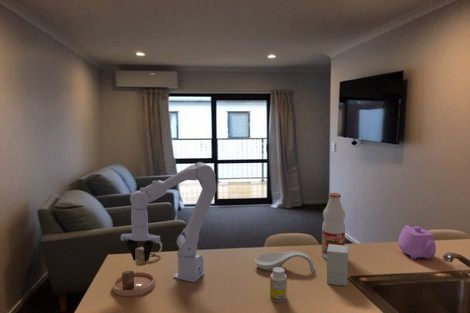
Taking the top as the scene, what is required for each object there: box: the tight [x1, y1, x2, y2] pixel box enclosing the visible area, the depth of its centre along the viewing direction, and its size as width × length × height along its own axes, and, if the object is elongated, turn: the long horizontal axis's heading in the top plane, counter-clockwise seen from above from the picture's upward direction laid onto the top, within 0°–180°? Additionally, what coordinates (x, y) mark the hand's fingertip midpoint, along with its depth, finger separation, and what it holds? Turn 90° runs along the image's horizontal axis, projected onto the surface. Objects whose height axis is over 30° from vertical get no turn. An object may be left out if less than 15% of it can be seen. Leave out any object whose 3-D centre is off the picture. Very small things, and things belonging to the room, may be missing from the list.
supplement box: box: [326, 244, 349, 287], centre depth 126 cm, size 7×7×13 cm
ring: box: [150, 241, 163, 257], centre depth 150 cm, size 7×3×8 cm, turn 95°
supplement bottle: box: [269, 266, 288, 303], centre depth 114 cm, size 6×6×10 cm
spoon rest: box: [254, 250, 315, 273], centre depth 137 cm, size 24×12×7 cm, turn 81°
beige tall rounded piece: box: [135, 246, 148, 267], centre depth 125 cm, size 4×4×6 cm
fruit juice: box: [321, 192, 346, 260], centre depth 146 cm, size 9×9×28 cm
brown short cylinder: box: [121, 270, 135, 290], centre depth 120 cm, size 4×4×6 cm
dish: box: [112, 271, 156, 298], centre depth 123 cm, size 15×15×2 cm
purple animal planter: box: [398, 225, 437, 260], centre depth 148 cm, size 20×12×13 cm, turn 5°
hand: (141, 259), depth 125 cm, fingers closed on beige tall rounded piece, 4 cm apart
